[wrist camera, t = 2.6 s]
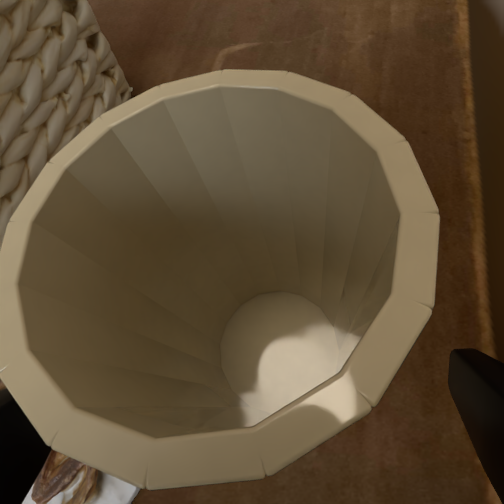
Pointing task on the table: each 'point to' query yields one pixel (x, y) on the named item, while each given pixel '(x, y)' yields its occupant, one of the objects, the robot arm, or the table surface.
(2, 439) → the robot arm
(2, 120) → the basket
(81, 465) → the frog figurine
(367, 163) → the cup
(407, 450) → the table surface
